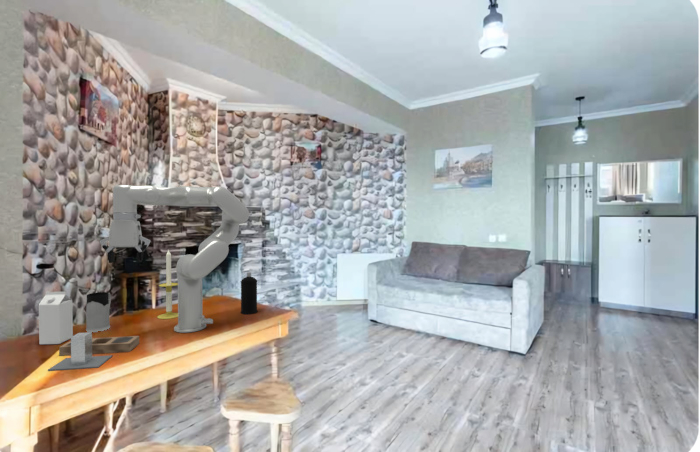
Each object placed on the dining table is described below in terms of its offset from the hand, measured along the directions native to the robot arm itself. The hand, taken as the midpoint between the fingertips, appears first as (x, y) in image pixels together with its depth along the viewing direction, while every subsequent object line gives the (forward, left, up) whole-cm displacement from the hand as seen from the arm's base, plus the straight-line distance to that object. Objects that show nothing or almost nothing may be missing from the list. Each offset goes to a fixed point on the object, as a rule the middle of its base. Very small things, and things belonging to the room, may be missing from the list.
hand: (125, 262), depth 133 cm
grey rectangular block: (+5, +20, -30) cm, 36 cm away
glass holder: (+18, -20, -31) cm, 41 cm away
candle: (-5, -33, -31) cm, 45 cm away
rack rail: (+5, +8, -30) cm, 32 cm away
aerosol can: (-42, -34, -31) cm, 62 cm away
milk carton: (+26, -4, -31) cm, 40 cm away
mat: (+5, +20, -30) cm, 37 cm away
